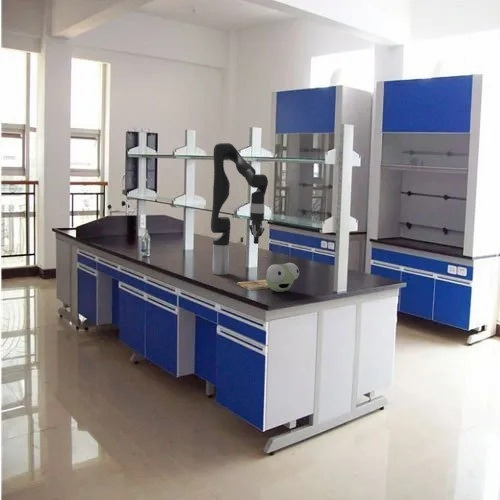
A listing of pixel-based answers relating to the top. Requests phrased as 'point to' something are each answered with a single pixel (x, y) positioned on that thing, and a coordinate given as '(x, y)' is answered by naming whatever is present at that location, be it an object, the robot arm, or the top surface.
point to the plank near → (246, 284)
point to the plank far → (260, 282)
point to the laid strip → (257, 287)
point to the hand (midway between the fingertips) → (256, 243)
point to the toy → (281, 276)
